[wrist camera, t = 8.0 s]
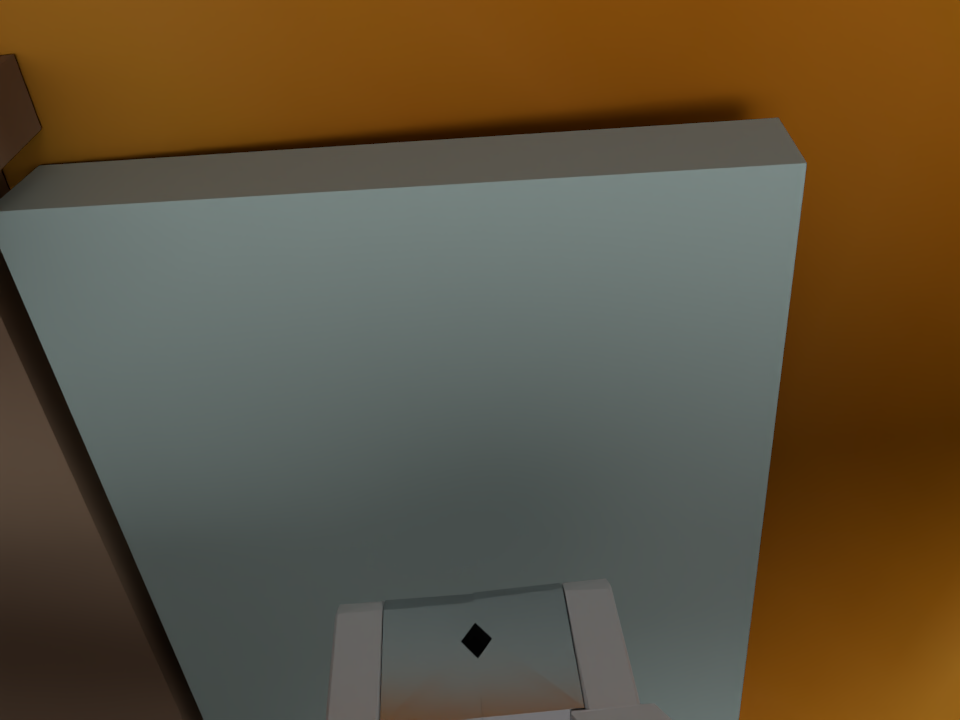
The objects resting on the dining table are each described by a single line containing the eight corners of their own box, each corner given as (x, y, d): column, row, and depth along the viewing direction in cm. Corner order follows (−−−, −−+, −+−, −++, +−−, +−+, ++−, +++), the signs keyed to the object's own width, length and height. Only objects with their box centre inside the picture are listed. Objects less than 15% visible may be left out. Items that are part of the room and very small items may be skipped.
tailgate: (272, 775, 17) (711, 776, 16) (255, 840, 16) (723, 845, 15) (39, 165, 10) (778, 117, 9) (-16, 213, 9) (806, 162, 8)
